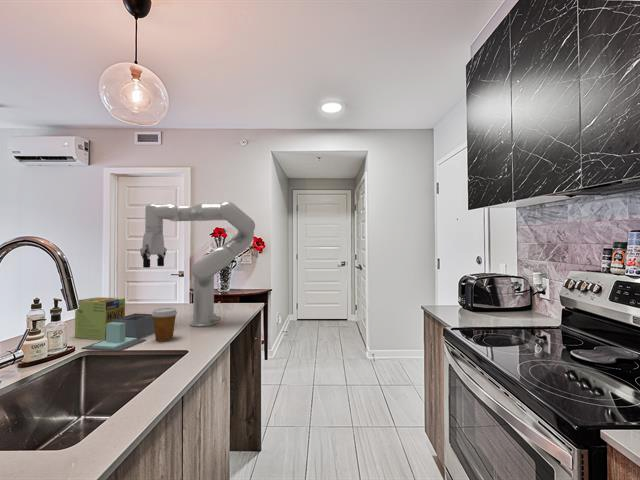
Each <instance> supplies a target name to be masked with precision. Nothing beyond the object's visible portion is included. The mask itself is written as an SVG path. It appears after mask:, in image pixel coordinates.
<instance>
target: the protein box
mask: <svg viewBox="0 0 640 480" xmlns="http://www.w3.org/2000/svg"><path fill="white" fill-rule="evenodd" d="M79 305H80V308H79V309H77V310H75V311H74V312H75V313H74V338H76V339H85V340H86V339H87V340H88V339H90V340H101V341H103V340H106V324H107V323H111V322H112V320H113V319H117V318H120V317H124V316H126V298H125V297H103V296H102V297H101V296H100V297H99V296H98V297H92V298H91V297H90V298H85V299H83V298H82V299H79Z"/></svg>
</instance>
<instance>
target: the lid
mask: <svg viewBox="0 0 640 480" xmlns="http://www.w3.org/2000/svg"><path fill="white" fill-rule="evenodd" d="M136 340H137V338H130V337H125V323H118V322H111V323H107V324H106V341H103V340H102V341H103V342H100V341H99V342H100V343H97V342H96V343H97V344H94V343H93V344H94V345H92V347H94V348H109V349H116V348H118V347H121V346H123V345H126V344H128V343H131V342H133V341H136Z"/></svg>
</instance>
